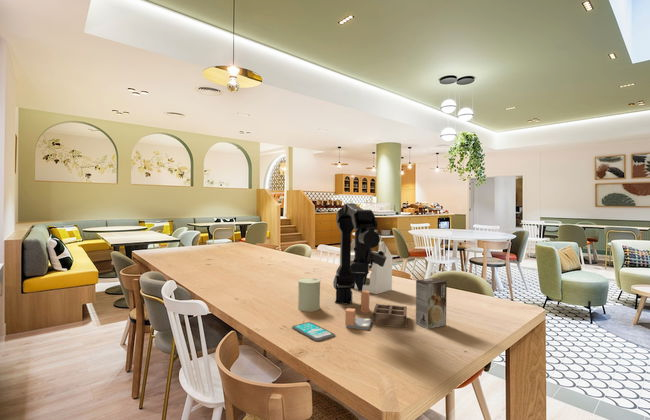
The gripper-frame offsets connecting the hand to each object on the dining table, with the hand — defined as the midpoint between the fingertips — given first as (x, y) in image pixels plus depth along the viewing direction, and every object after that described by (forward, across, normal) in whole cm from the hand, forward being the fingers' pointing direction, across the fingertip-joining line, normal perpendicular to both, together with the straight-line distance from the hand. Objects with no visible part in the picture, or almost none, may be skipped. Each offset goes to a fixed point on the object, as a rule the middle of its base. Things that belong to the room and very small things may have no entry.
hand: (362, 287), depth 118 cm
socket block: (+13, +7, -10) cm, 18 cm away
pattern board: (+13, -1, +1) cm, 13 cm away
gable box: (+13, +53, +4) cm, 55 cm away
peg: (+13, +15, 0) cm, 20 cm away
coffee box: (+14, +7, -24) cm, 29 cm away
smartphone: (+14, -11, +15) cm, 23 cm away
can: (+13, +13, +24) cm, 30 cm away
